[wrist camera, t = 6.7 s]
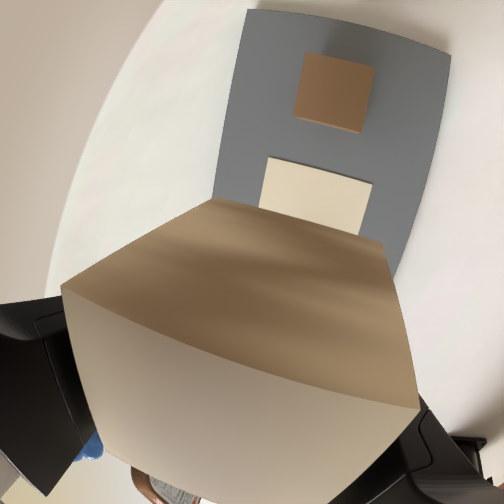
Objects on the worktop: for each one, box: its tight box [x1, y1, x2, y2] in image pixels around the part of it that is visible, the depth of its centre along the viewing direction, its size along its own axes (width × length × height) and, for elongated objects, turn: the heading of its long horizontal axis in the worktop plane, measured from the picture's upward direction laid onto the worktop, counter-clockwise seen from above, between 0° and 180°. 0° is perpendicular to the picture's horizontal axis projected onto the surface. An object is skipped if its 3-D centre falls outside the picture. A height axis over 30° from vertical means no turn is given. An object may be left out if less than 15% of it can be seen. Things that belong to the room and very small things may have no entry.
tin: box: [131, 466, 201, 504], centre depth 32 cm, size 15×3×8 cm, turn 18°
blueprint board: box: [212, 9, 451, 278], centre depth 17 cm, size 12×24×5 cm, turn 170°
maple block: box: [60, 197, 421, 504], centre depth 7 cm, size 5×5×6 cm
